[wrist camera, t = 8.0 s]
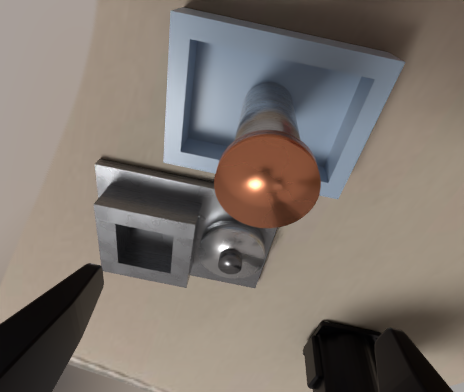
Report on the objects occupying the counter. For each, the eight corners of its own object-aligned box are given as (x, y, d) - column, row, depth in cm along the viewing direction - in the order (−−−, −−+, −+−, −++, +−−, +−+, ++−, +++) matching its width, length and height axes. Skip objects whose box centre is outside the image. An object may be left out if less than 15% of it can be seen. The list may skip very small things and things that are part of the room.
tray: (388, 52, 16) (405, 62, 14) (331, 178, 21) (337, 199, 19) (183, 7, 16) (170, 10, 14) (174, 144, 21) (163, 162, 19)
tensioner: (285, 197, 22) (287, 227, 19) (255, 281, 28) (253, 312, 25) (99, 158, 22) (76, 183, 19) (108, 251, 28) (91, 279, 25)
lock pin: (308, 81, 17) (338, 152, 10) (289, 142, 19) (301, 236, 12) (243, 67, 17) (223, 128, 10) (231, 130, 19) (207, 217, 12)
